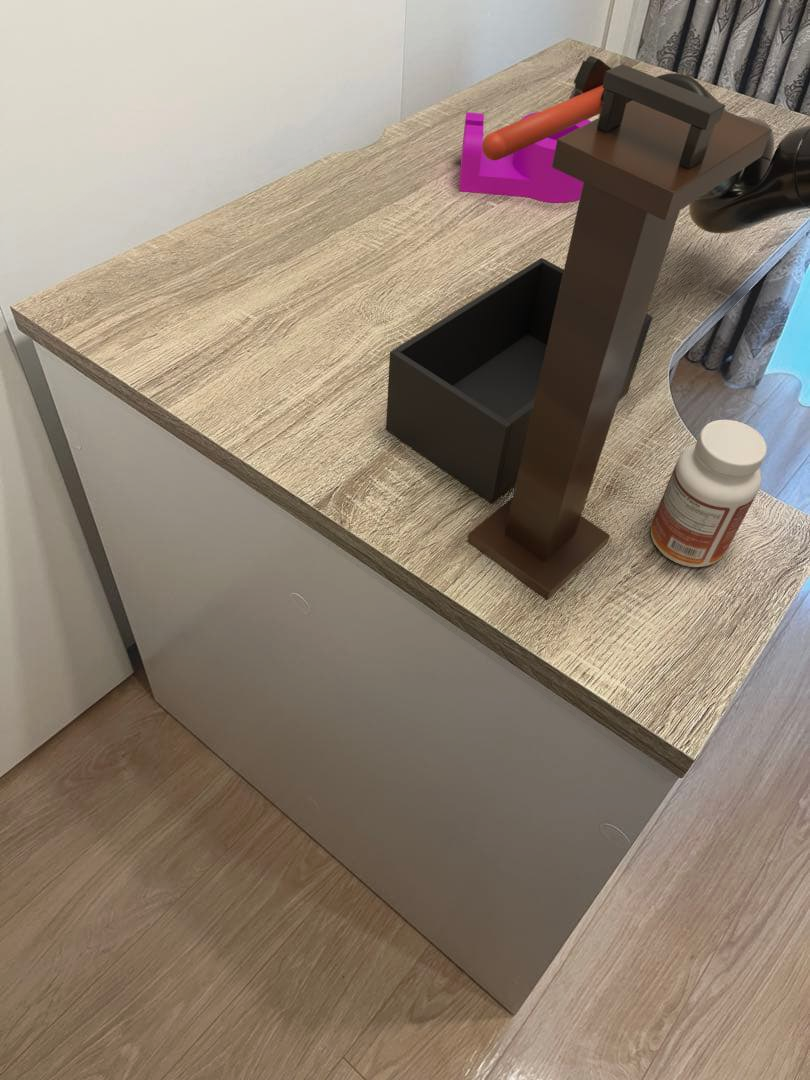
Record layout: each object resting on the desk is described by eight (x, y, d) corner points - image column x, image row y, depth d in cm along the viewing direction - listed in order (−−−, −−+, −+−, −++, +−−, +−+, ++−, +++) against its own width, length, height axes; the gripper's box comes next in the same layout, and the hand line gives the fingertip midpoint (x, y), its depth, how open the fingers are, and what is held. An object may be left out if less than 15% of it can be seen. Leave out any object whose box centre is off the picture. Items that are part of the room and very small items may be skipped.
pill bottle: (705, 507, 72) (753, 407, 64) (738, 564, 68) (795, 466, 60) (636, 516, 71) (676, 416, 63) (666, 575, 67) (713, 477, 59)
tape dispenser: (587, 165, 109) (598, 115, 104) (592, 206, 103) (605, 154, 98) (461, 154, 109) (466, 103, 104) (459, 194, 103) (464, 142, 98)
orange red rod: (625, 91, 62) (630, 67, 61) (644, 98, 62) (650, 74, 60) (475, 159, 54) (477, 132, 52) (495, 167, 53) (498, 140, 52)
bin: (526, 333, 86) (541, 257, 79) (627, 393, 81) (653, 316, 74) (385, 429, 76) (389, 351, 69) (491, 504, 71) (506, 427, 64)
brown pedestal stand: (550, 472, 74) (668, 28, 47) (628, 523, 71) (802, 77, 44) (467, 541, 68) (547, 83, 42) (547, 600, 65) (689, 144, 38)
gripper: (632, 62, 72) (542, -14, 58) (779, 120, 67) (719, 52, 53) (590, 152, 76) (494, 100, 62) (726, 215, 70) (656, 174, 56)
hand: (598, 78), depth 57 cm, fingers closed on orange red rod, 1 cm apart
